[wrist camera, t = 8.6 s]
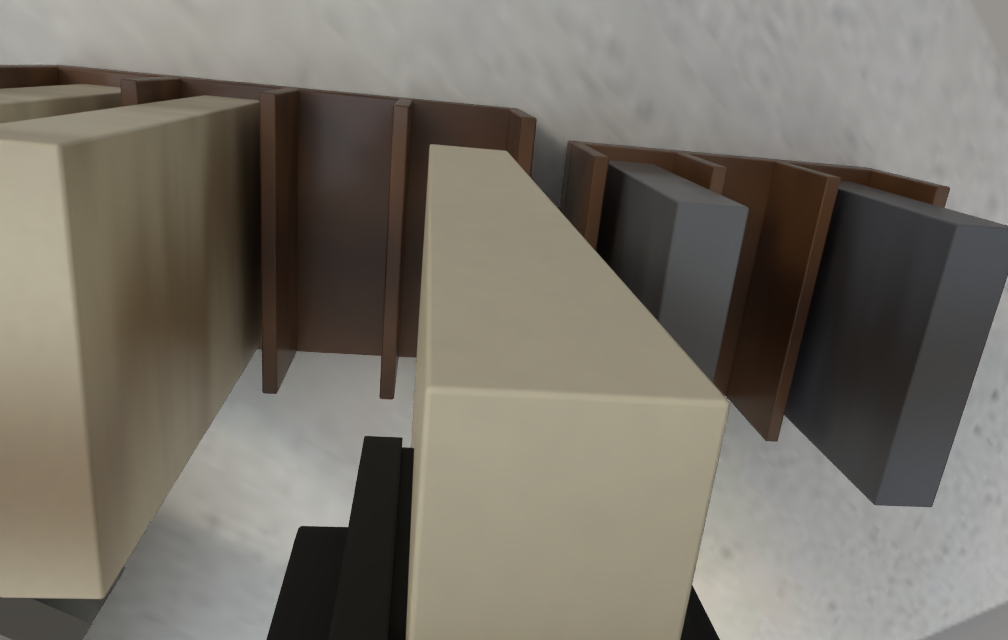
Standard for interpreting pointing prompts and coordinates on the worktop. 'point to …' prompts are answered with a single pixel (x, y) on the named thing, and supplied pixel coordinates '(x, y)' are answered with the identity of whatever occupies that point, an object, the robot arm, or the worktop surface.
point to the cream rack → (186, 278)
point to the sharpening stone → (48, 617)
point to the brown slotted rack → (806, 295)
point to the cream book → (546, 428)
